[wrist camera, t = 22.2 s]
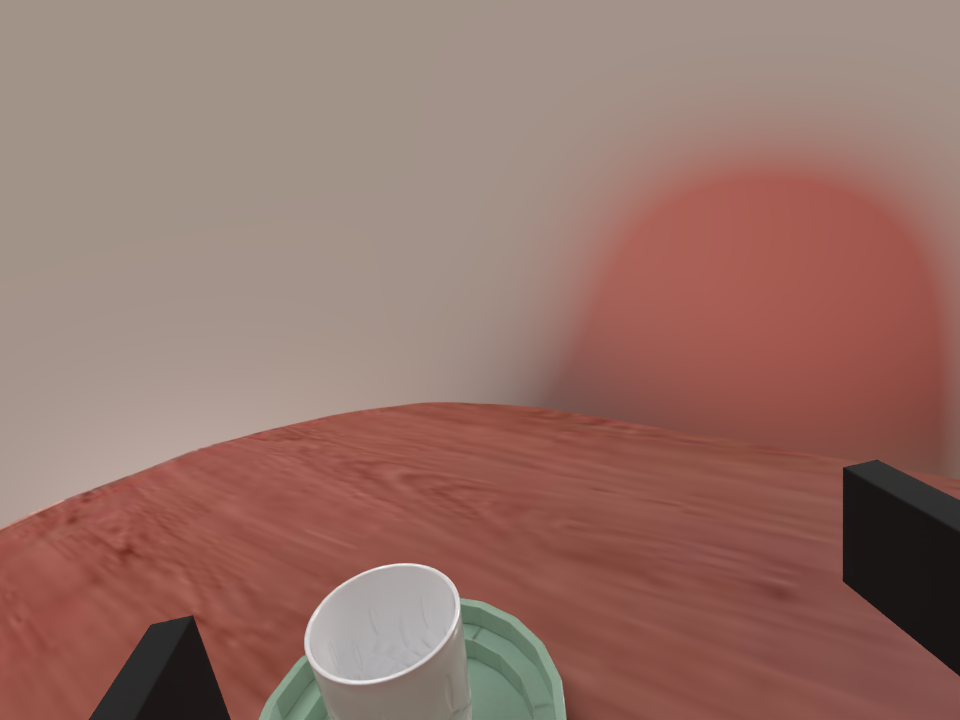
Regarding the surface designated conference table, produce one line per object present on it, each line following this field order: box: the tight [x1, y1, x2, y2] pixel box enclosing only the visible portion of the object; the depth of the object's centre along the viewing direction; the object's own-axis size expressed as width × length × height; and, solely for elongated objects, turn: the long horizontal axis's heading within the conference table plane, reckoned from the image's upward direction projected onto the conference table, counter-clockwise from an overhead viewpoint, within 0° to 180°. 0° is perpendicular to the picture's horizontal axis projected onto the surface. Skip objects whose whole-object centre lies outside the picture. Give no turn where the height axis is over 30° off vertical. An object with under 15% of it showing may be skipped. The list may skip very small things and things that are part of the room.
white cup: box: [304, 563, 472, 720], centre depth 29 cm, size 8×8×10 cm
